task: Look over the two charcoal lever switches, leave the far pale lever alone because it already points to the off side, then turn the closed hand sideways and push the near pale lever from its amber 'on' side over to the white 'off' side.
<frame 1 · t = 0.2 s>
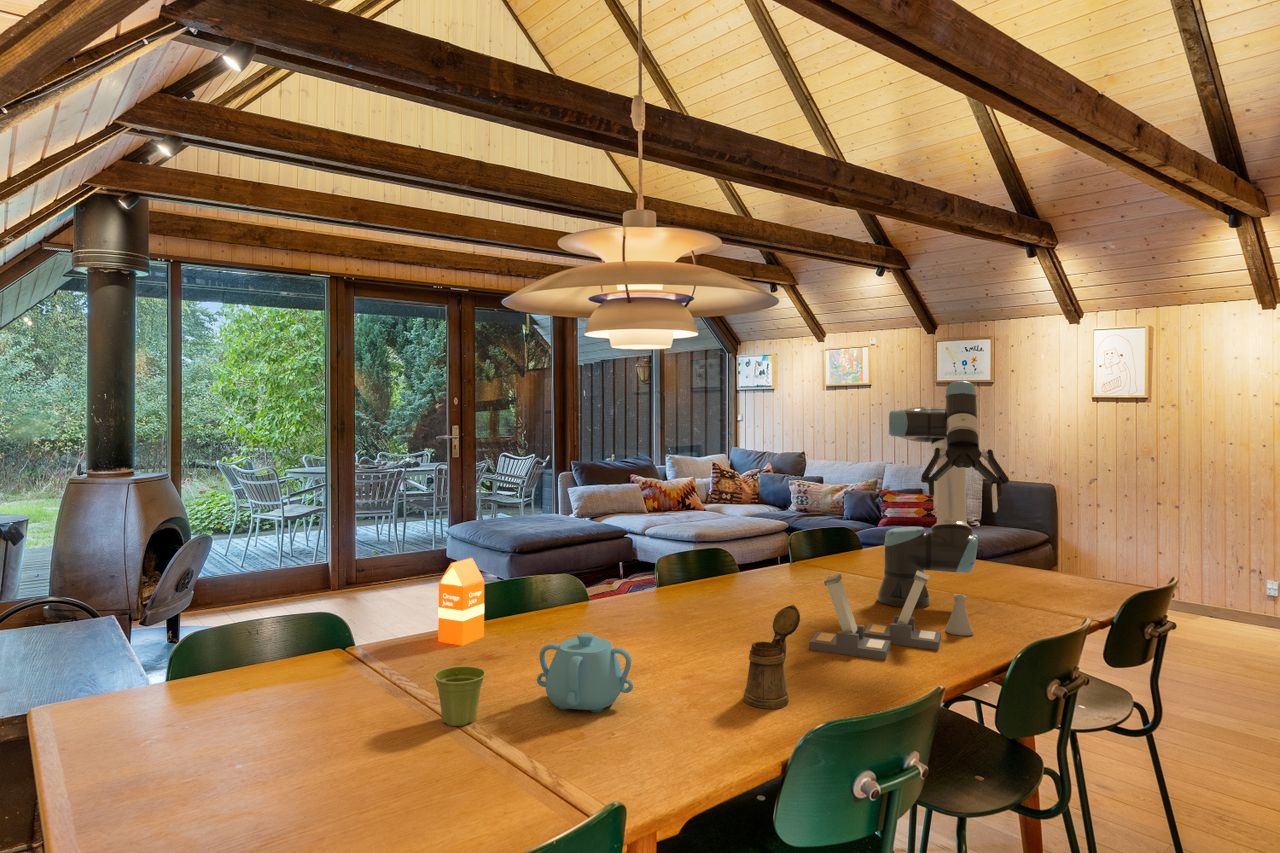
hand: (965, 508, 188), 35 cm above the table, tool tilted 35°, fingers open, 13 cm apart
lever near: (842, 606, 189), point 10 cm above the table, hinge at -20.0°
wooden mug: (773, 699, 155), on the table
housing far: (902, 640, 197), on the table
orange juice: (461, 639, 193), on the table
decorative pot: (584, 703, 151), on the table
plant pot: (459, 721, 142), on the table
lever far: (911, 601, 196), point 10 cm above the table, hinge at 20.0°
flask: (959, 633, 204), on the table
housing near: (850, 649, 189), on the table
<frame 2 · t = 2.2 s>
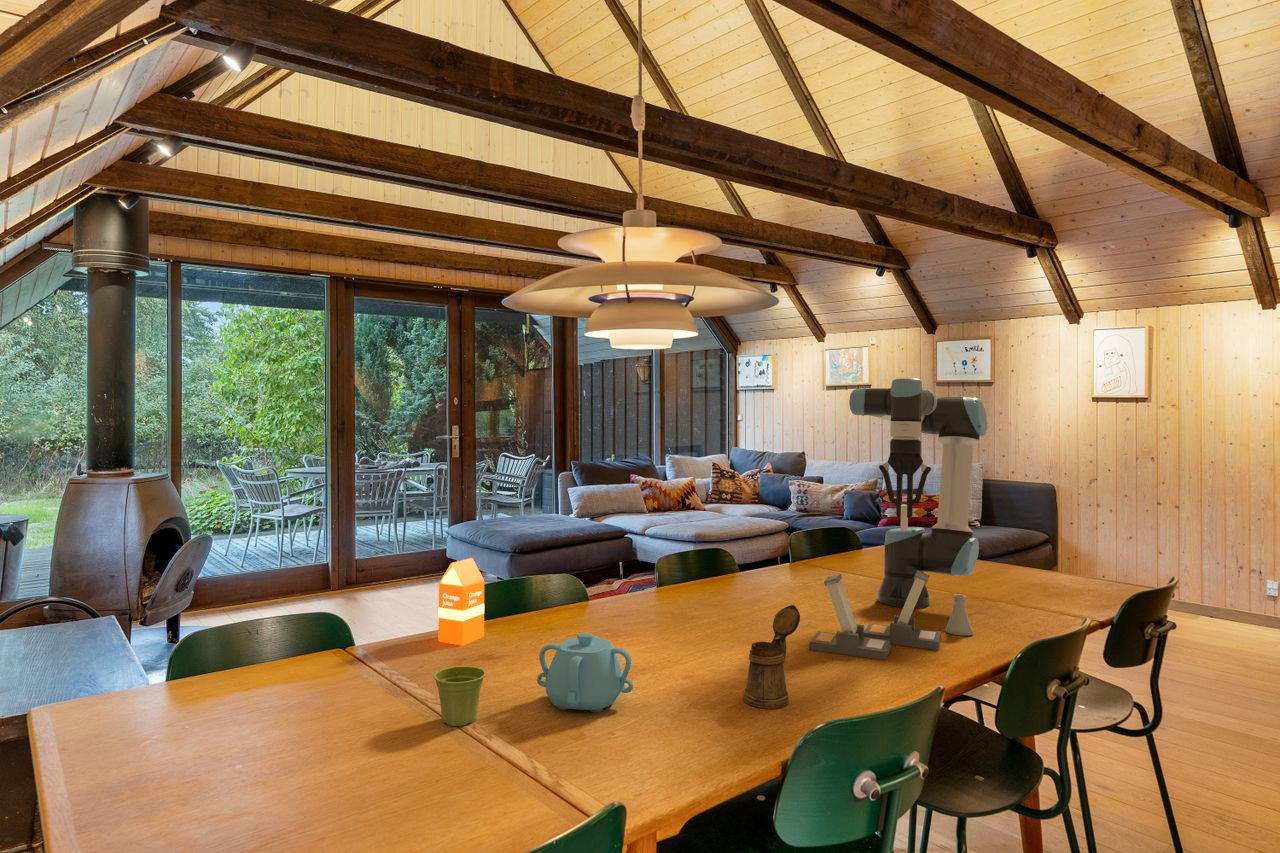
hand: (904, 530, 196), 28 cm above the table, tool pointing down, fingers closed
nothing on the table moved.
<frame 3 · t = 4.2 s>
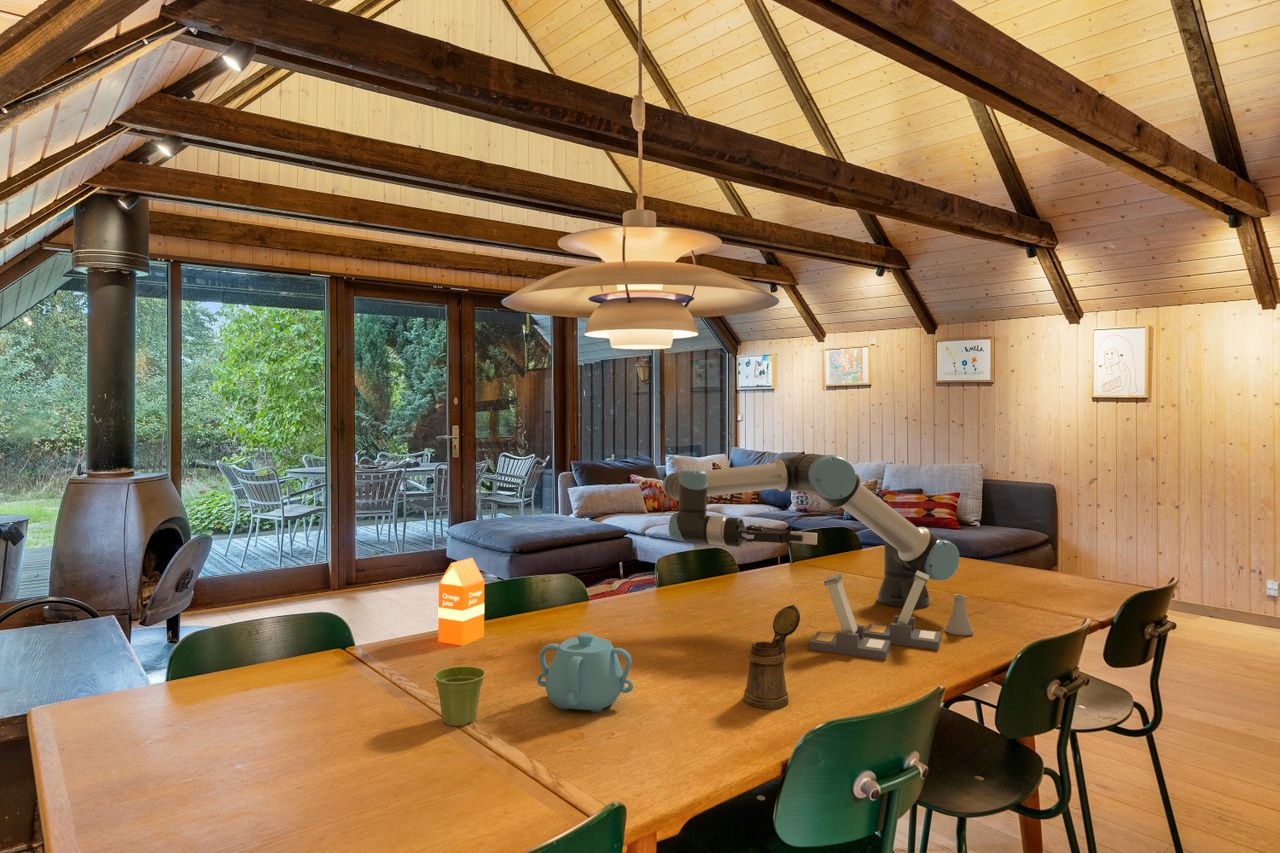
hand: (816, 538, 192), 27 cm above the table, tool horizontal, fingers closed
nothing on the table moved.
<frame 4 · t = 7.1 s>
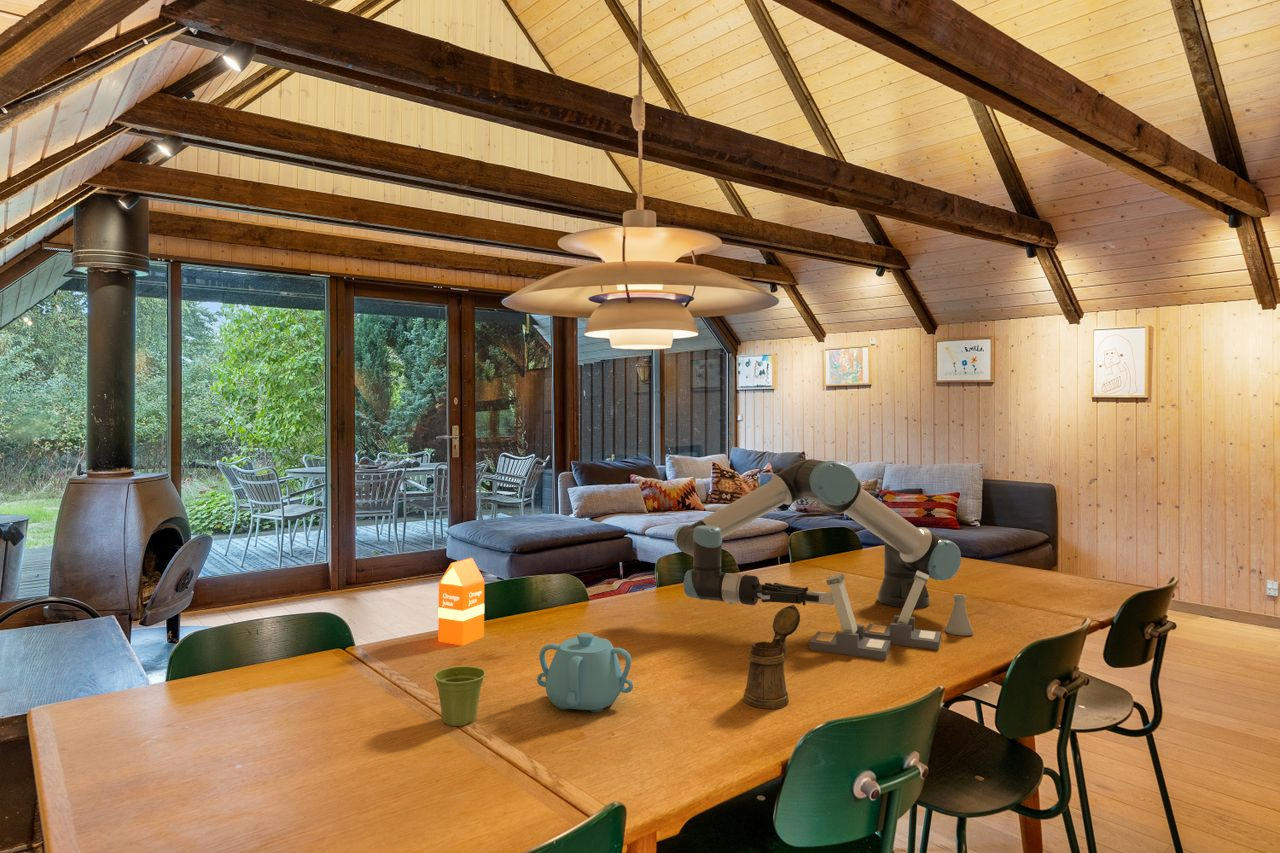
hand: (833, 599, 190), 12 cm above the table, tool horizontal, fingers closed
lever near: (843, 606, 189), point 10 cm above the table, hinge at -17.3°, touching gripper
everything else where it was.
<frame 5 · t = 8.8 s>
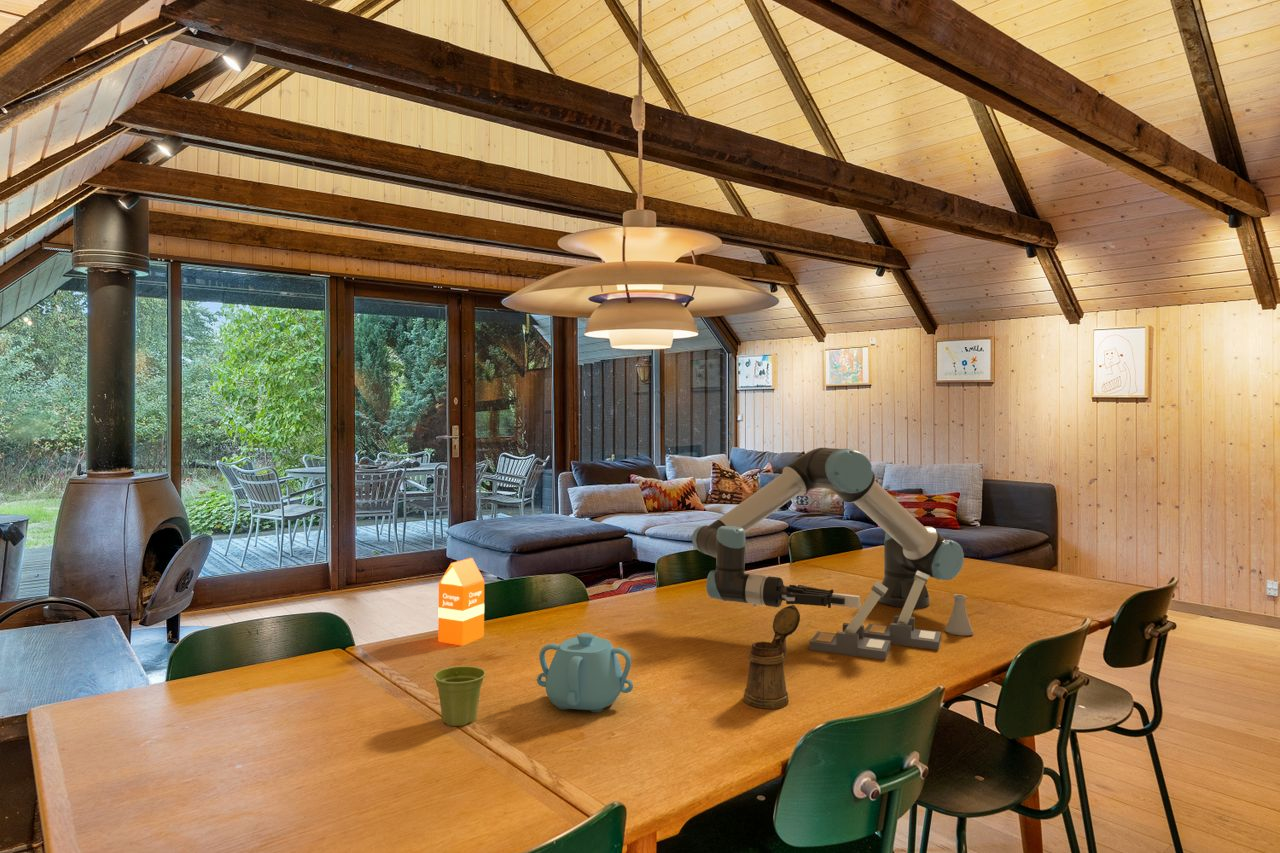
hand: (859, 602, 187), 12 cm above the table, tool horizontal, fingers closed
lever near: (864, 611, 187), point 10 cm above the table, hinge at 31.3°, touching gripper
everything else where it was.
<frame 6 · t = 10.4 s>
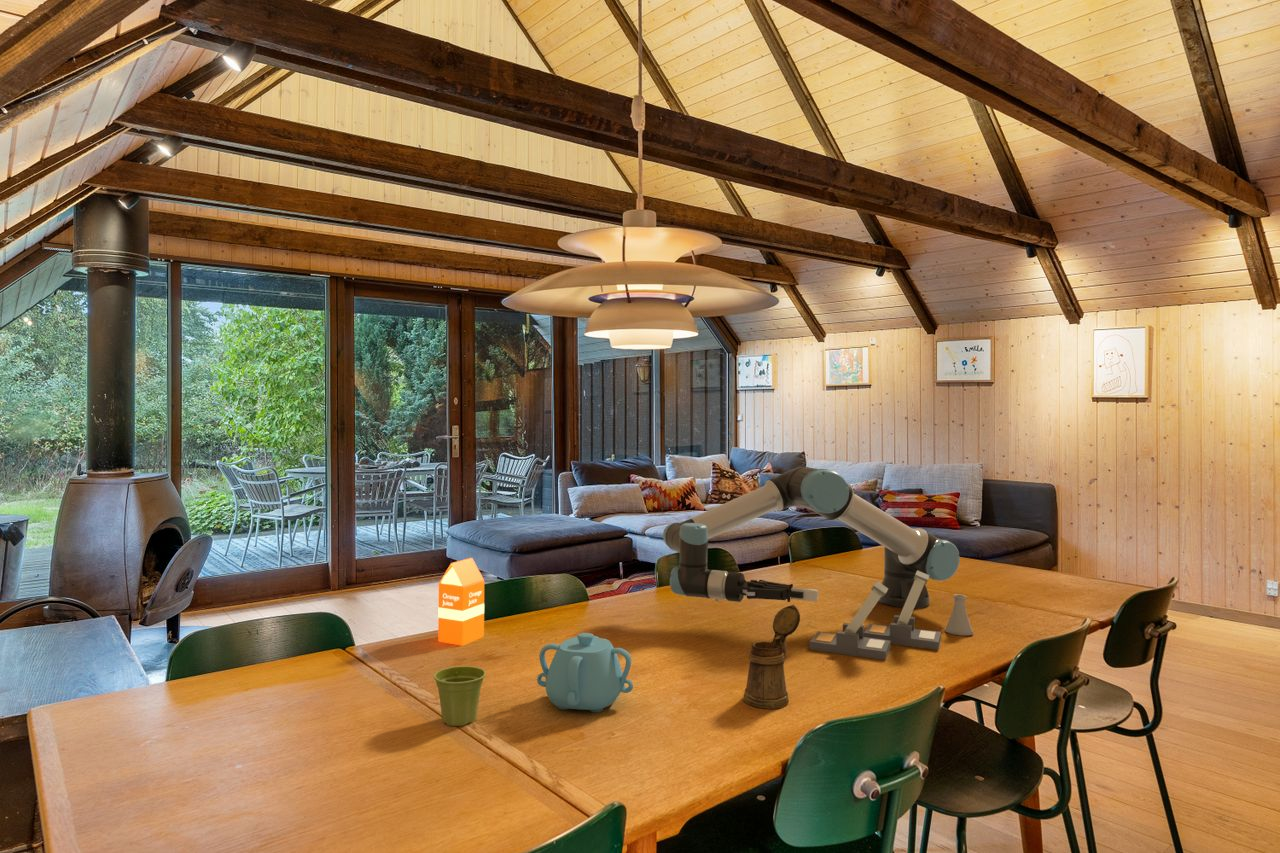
hand: (817, 595, 192), 12 cm above the table, tool horizontal, fingers closed
lever near: (864, 611, 187), point 10 cm above the table, hinge at 31.5°
everything else where it was.
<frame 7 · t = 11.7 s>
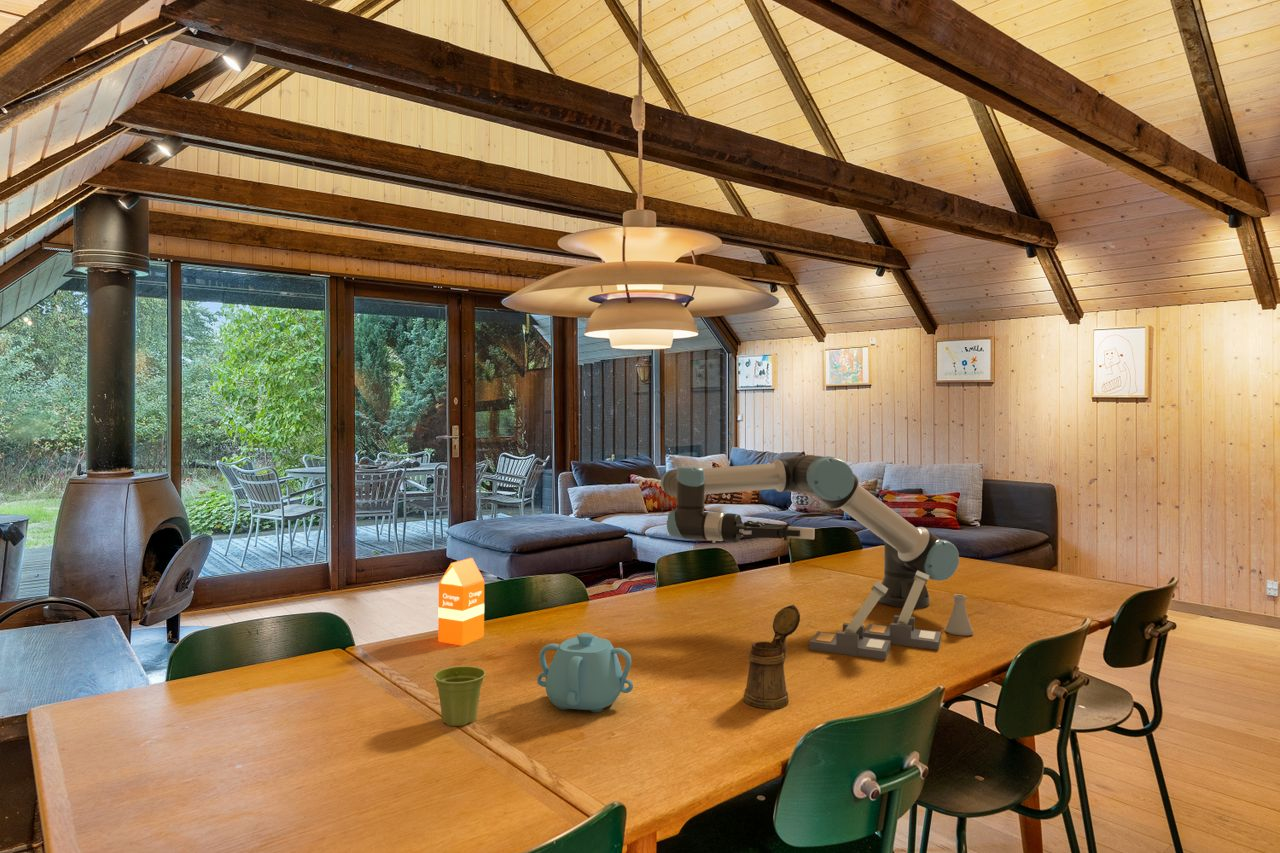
hand: (813, 533, 192), 28 cm above the table, tool horizontal, fingers closed
nothing on the table moved.
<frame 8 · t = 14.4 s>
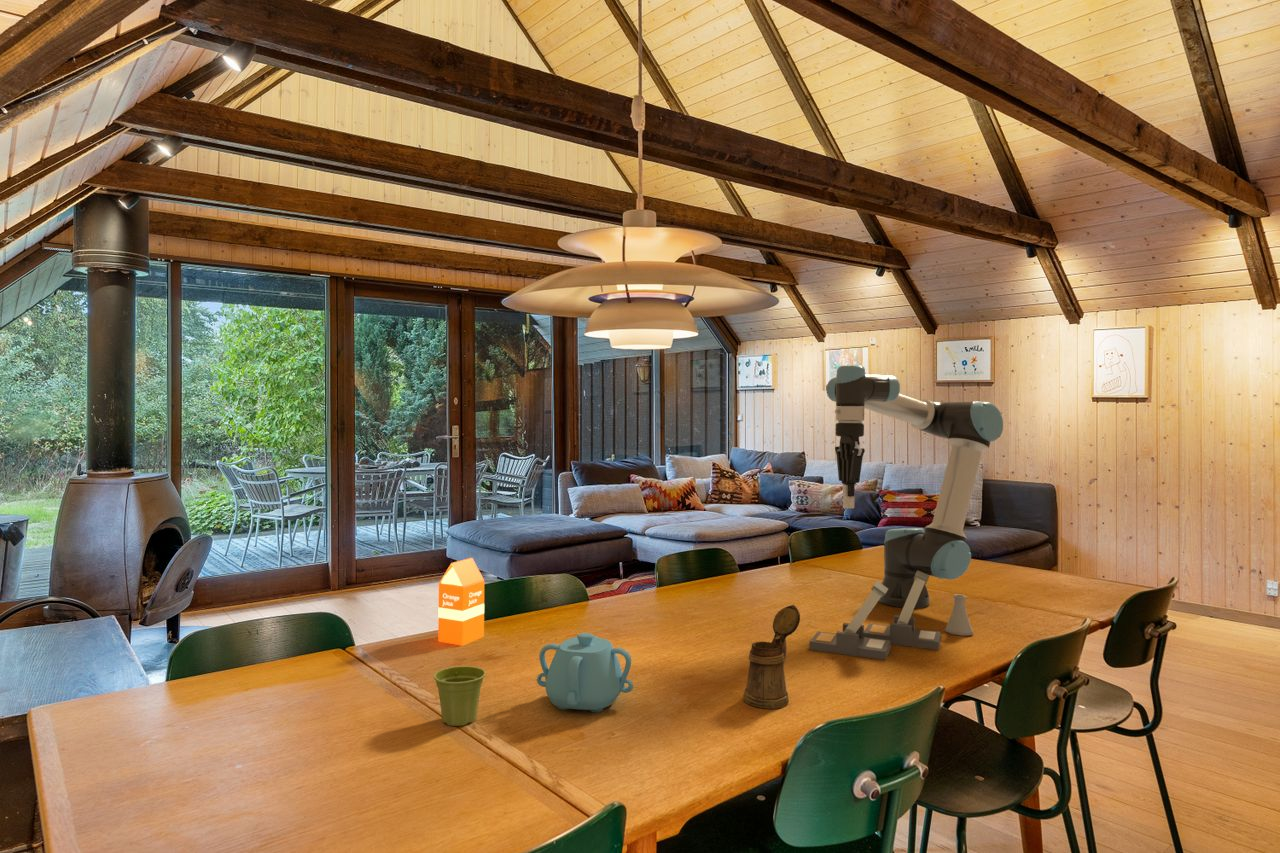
hand: (848, 508, 210), 32 cm above the table, tool pointing down, fingers closed
nothing on the table moved.
at the end: lever near at +32° (first picture: -20°); lever far at +20° (first picture: +20°) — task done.
